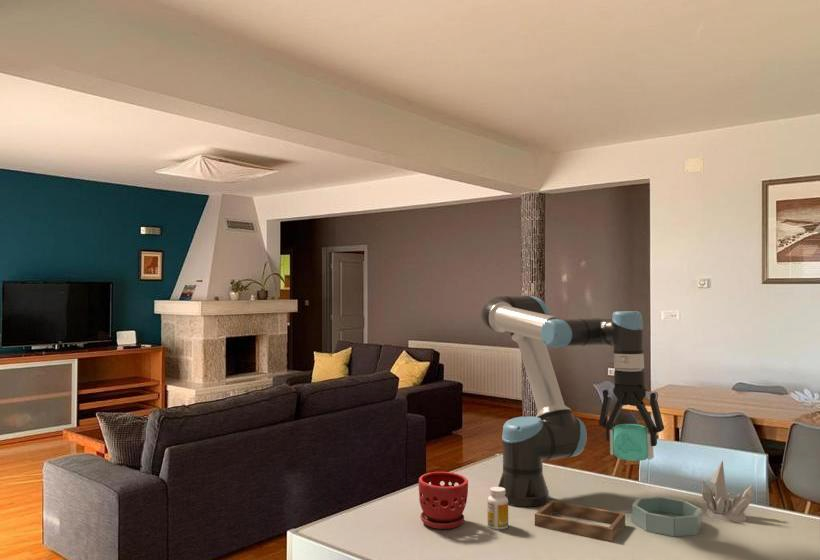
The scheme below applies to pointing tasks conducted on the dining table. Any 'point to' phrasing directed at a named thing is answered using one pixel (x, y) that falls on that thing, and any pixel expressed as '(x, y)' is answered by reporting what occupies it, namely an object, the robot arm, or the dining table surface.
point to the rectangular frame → (577, 527)
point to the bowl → (666, 516)
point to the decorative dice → (630, 442)
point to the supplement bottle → (497, 508)
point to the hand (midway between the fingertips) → (631, 456)
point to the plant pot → (442, 499)
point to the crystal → (725, 499)
